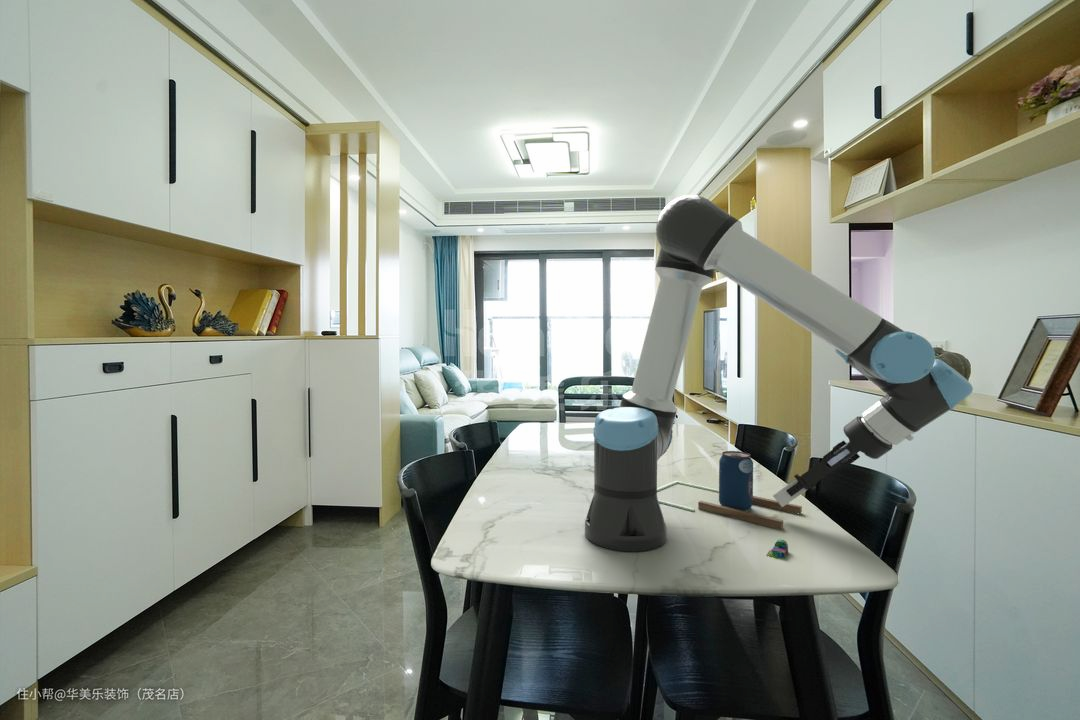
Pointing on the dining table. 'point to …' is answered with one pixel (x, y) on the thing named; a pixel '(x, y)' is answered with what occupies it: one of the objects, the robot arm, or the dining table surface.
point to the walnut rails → (751, 516)
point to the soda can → (736, 480)
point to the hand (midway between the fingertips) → (778, 500)
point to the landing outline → (683, 484)
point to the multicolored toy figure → (779, 549)
